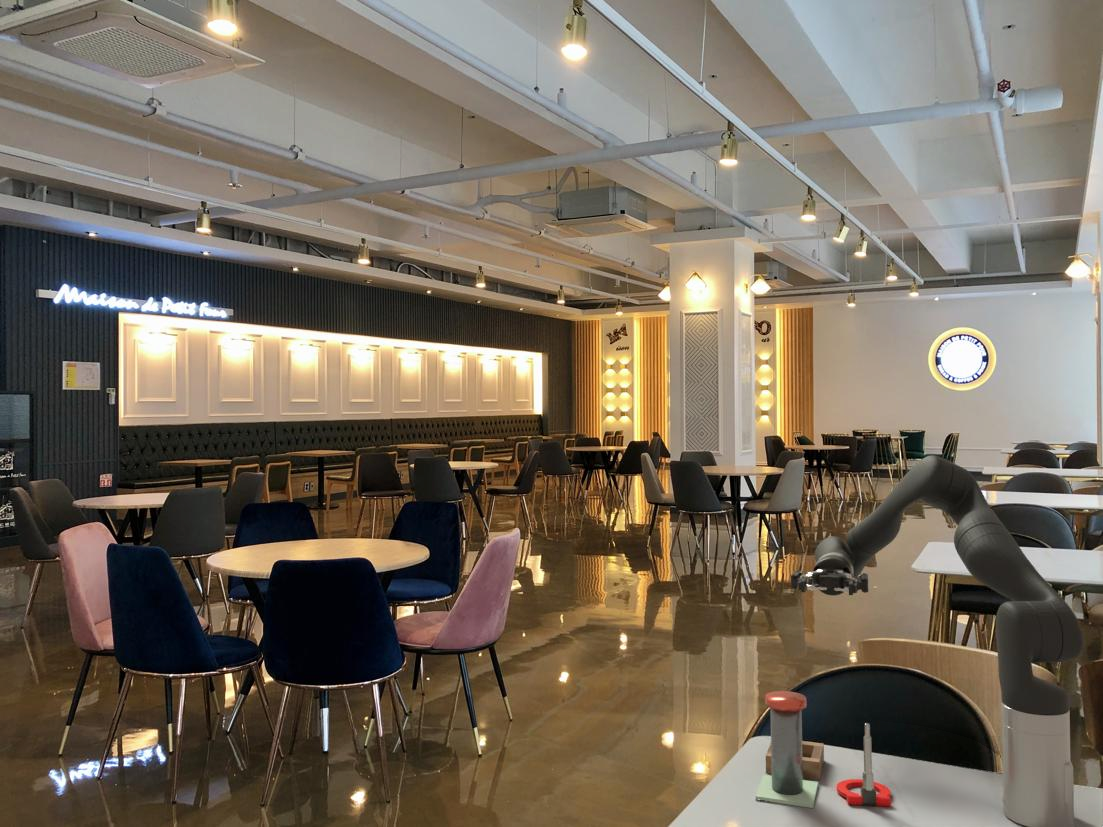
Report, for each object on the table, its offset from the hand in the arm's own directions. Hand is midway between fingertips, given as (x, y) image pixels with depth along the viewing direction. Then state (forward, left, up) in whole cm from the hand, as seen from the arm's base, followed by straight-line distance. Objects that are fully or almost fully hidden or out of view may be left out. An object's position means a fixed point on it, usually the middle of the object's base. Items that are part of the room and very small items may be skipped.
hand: (826, 588), depth 166 cm
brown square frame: (+5, +10, -30) cm, 32 cm away
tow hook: (-7, +18, -30) cm, 36 cm away
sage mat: (+5, +22, -30) cm, 37 cm away
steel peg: (+5, +22, -29) cm, 37 cm away
